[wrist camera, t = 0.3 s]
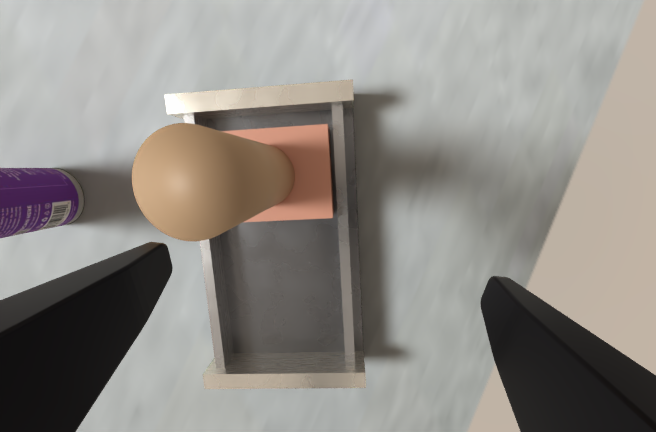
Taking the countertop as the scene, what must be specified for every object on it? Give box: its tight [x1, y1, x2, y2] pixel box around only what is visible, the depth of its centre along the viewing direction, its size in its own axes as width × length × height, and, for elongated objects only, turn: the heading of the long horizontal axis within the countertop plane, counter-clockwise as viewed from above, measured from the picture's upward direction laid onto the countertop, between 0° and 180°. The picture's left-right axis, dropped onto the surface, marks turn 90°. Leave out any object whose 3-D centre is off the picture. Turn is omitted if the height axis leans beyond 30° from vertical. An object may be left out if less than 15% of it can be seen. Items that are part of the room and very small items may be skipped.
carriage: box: [132, 123, 334, 241], centre depth 16 cm, size 6×9×12 cm
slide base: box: [165, 80, 366, 389], centre depth 22 cm, size 21×12×4 cm, turn 3°
